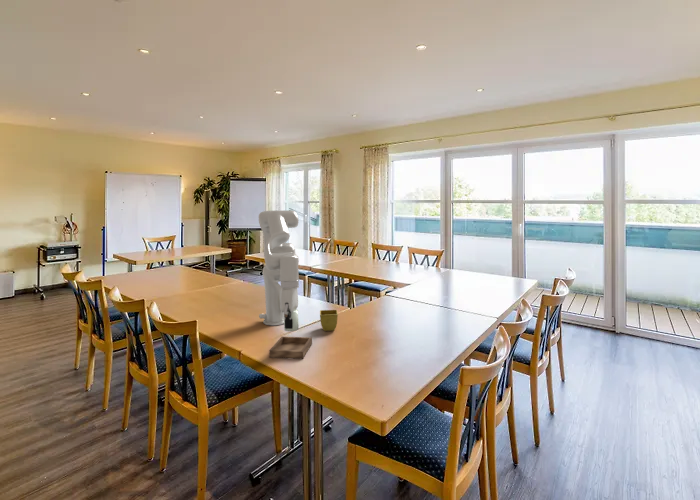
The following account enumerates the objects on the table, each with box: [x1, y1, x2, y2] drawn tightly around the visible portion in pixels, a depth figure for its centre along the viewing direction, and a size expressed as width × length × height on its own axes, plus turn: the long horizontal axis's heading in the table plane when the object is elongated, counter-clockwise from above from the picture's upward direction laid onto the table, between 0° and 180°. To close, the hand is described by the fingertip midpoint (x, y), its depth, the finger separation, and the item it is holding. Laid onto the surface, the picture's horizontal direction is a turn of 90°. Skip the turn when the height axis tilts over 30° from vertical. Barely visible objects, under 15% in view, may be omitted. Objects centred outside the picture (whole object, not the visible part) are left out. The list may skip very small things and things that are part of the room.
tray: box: [268, 336, 313, 360], centre depth 151 cm, size 14×16×3 cm
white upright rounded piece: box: [283, 309, 300, 332], centre depth 149 cm, size 6×6×8 cm
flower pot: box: [319, 309, 339, 332], centre depth 177 cm, size 9×9×9 cm
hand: (291, 325), depth 149 cm, fingers closed on white upright rounded piece, 6 cm apart
